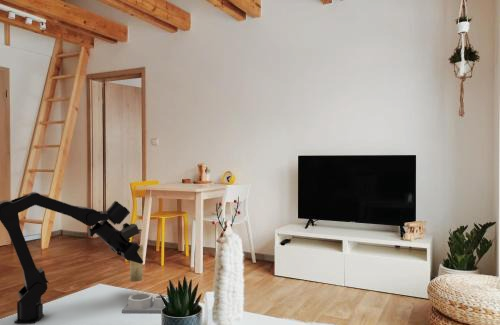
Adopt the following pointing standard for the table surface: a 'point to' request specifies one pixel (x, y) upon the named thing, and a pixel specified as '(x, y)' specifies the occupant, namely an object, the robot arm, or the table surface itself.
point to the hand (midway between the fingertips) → (140, 261)
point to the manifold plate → (144, 303)
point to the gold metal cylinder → (137, 268)
